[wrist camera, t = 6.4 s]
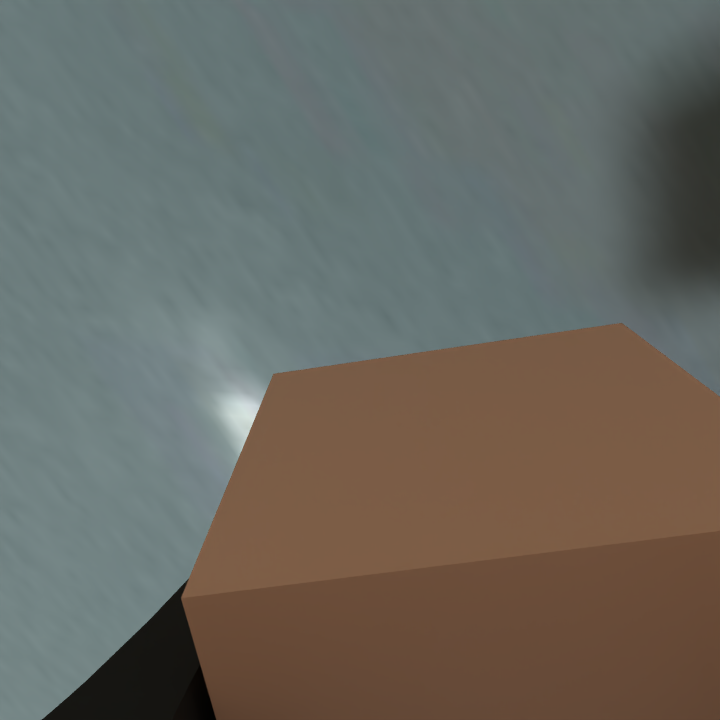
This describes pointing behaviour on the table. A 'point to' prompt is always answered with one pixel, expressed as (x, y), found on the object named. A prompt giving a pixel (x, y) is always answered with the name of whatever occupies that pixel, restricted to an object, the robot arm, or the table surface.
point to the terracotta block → (470, 540)
